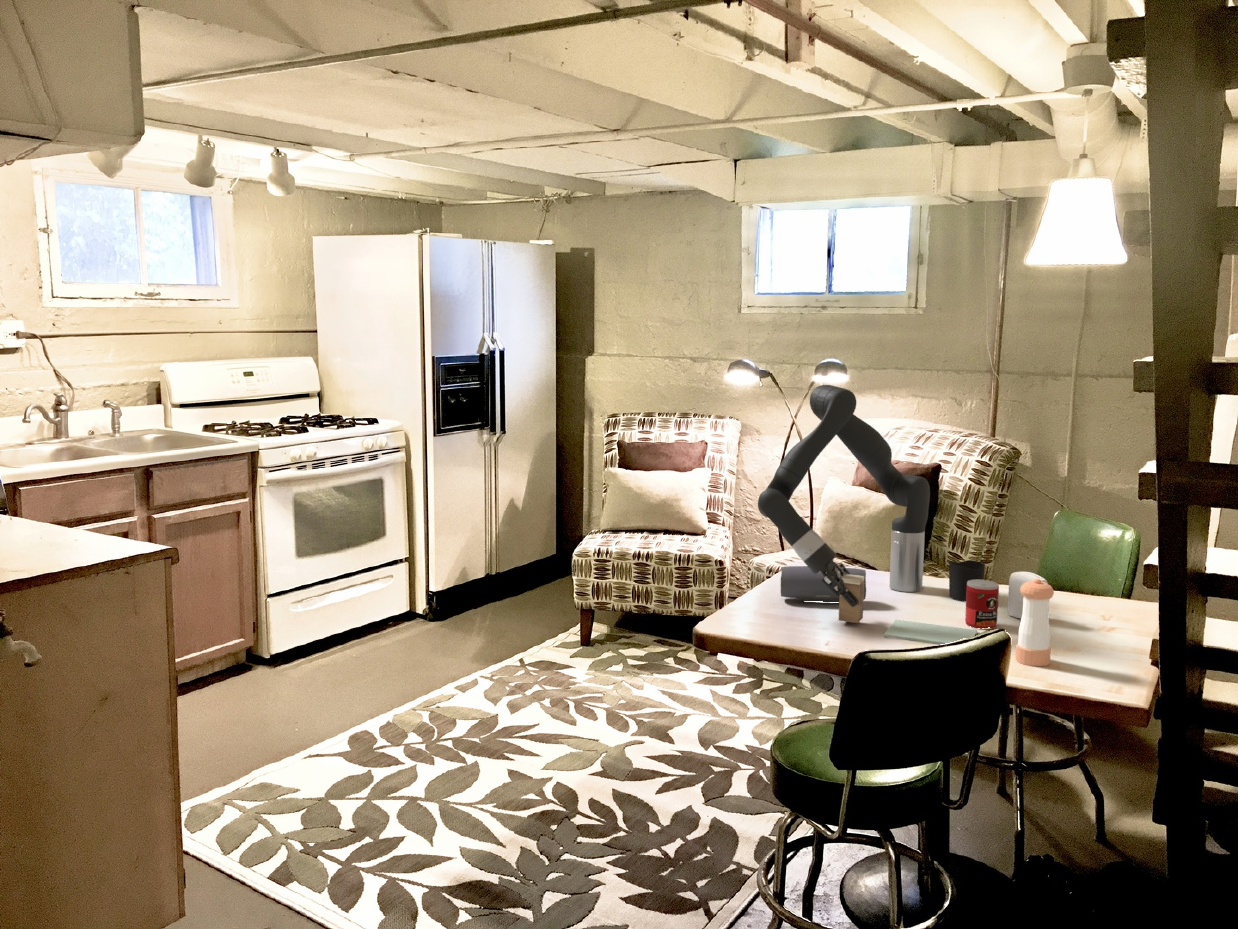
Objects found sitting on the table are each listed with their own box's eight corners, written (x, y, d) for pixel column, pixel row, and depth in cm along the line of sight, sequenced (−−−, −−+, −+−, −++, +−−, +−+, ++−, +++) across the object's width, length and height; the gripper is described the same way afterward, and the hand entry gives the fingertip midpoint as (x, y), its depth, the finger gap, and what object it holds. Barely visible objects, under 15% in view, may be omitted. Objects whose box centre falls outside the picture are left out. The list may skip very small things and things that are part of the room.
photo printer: (1004, 615, 261) (1007, 569, 259) (1015, 613, 263) (1018, 567, 261) (1037, 625, 252) (1040, 578, 250) (1048, 623, 254) (1051, 576, 253)
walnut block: (843, 615, 257) (844, 574, 255) (862, 617, 254) (864, 576, 253) (838, 620, 252) (839, 578, 251) (858, 623, 250) (859, 580, 248)
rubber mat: (895, 621, 255) (895, 619, 255) (977, 632, 246) (977, 630, 246) (884, 636, 243) (884, 634, 243) (969, 648, 234) (969, 646, 234)
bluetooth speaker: (862, 599, 277) (863, 564, 275) (865, 608, 268) (867, 572, 266) (780, 595, 280) (781, 561, 278) (780, 604, 271) (781, 569, 269)
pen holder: (979, 604, 271) (981, 569, 270) (944, 599, 276) (946, 564, 274) (986, 596, 279) (987, 561, 278) (951, 592, 284) (953, 558, 283)
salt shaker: (1041, 655, 229) (1046, 575, 226) (1055, 666, 221) (1061, 583, 219) (1010, 656, 228) (1014, 575, 226) (1023, 666, 221) (1028, 583, 219)
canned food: (977, 630, 248) (979, 588, 246) (958, 621, 255) (960, 580, 254) (1003, 628, 250) (1006, 586, 248) (984, 619, 257) (986, 578, 256)
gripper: (816, 547, 248) (863, 600, 244) (831, 536, 260) (875, 586, 257) (795, 566, 251) (841, 618, 247) (811, 554, 263) (854, 603, 260)
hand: (858, 601), depth 252 cm, fingers closed on walnut block, 5 cm apart
